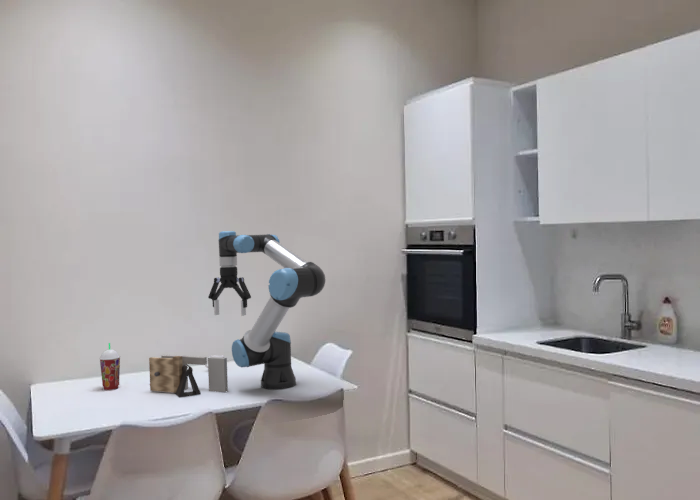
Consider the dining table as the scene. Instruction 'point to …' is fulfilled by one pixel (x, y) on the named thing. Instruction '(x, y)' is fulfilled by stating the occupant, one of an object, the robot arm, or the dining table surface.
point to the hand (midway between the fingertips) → (230, 315)
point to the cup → (215, 356)
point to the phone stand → (182, 384)
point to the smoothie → (110, 369)
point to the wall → (209, 370)
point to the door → (165, 373)
